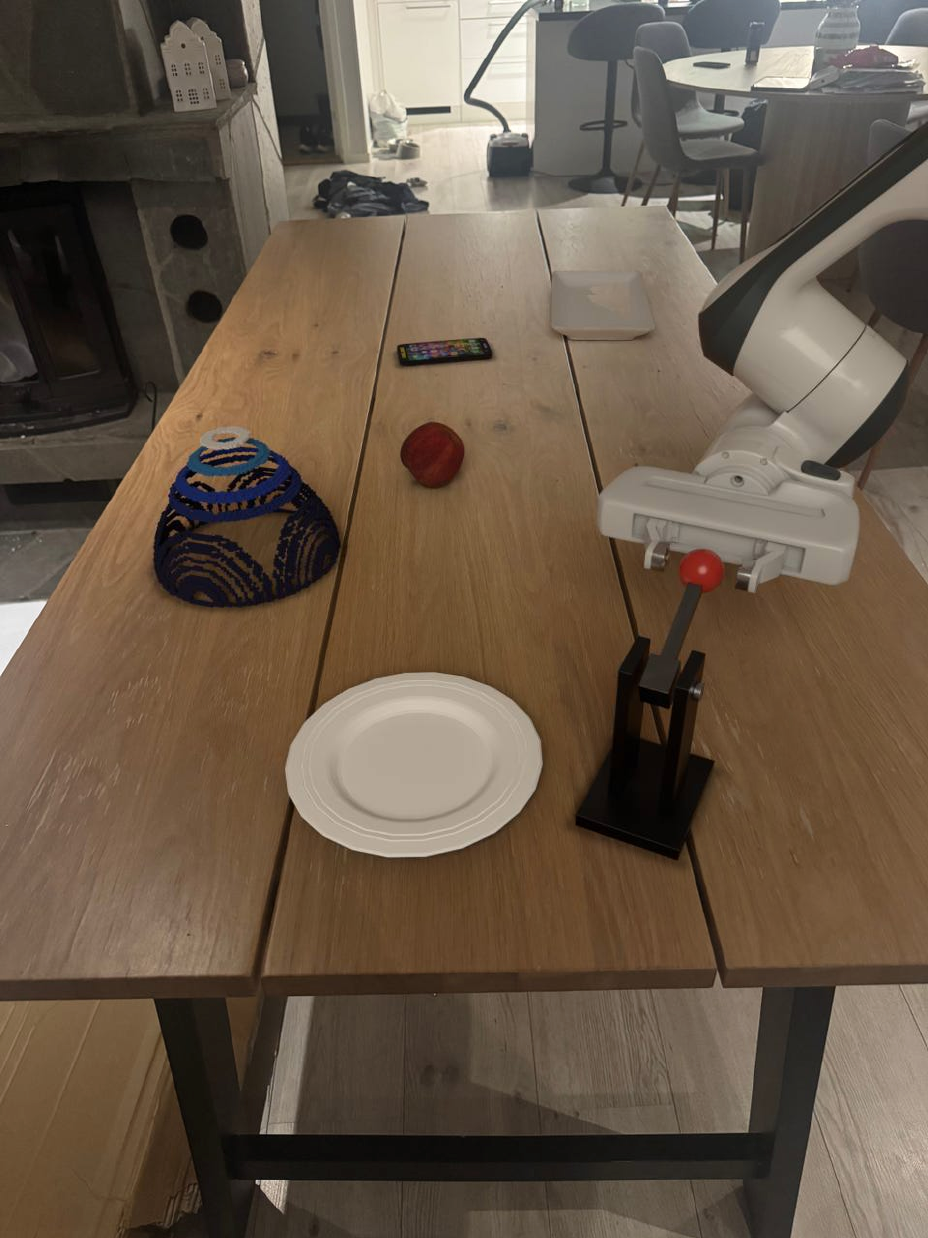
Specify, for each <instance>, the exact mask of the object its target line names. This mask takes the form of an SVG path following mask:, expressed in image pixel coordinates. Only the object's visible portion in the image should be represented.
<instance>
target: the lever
mask: <svg viewBox="0 0 928 1238" xmlns="http://www.w3.org/2000/svg"><path fill="white" fill-rule="evenodd" d="M725 568H726V567H725V564H724V562H723V561H722V559H721V558H720V557H719V555H717V554H716V553H715V552H713V551H711V550H709V549H703V548H700V549H695V550H692V551H690V552H688V553H687V554H685V555H684V556H683V557H682V559H681V560H680V562H679V565H678V571H677V572H678V578H679V581H680V583H681V584H682V586H683V587H684V588H685V589H684V591H683V595H682V597H681V600H680V602H679V605H678V608H677V610H676V613H675V616H674V618H673V621H672V624H671V626H670V629H669V631H668V633H667V636H666V639H665V642H664V645H663V648H662V650H661V652H660V654H658V653H654V652H649V658H648V661H647V664H646V666H645V669H644V671H643V674H642V677H641V679H640V682H639V684H638V687H639V698H640V701H641V702H644V704H648V705H652V706H655V707H659V708H662V709H666V710H670V709H671V708H672V702H673V694H674V687H675V684H676V682H677V680H678V678H679V676H680V674H681V672H682V661H681V660H679V657H680V654H681V651H682V650H683V649H682V648H683V646H684V643H685V641H686V638H687V635H688V632H689V630H690V627H691V624H692V623H693V620H694V616H695V613H696V611H697V608H698V605H699V603H700V600H701V598H702V595H703V594H707V593H710V592H713V591H714V590H716V589H717V588H718V587H719V586H720V585H721V584H722V582H723V580H724V577H725V571H726V570H725Z"/></svg>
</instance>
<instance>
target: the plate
mask: <svg viewBox="0 0 928 1238" xmlns="http://www.w3.org/2000/svg"><path fill="white" fill-rule="evenodd" d="M542 750H543V749H542V741H541V738H540V736H539V734H538V732H537V730H536V727H535V725H534V723H533V721H532V718H530V717H529V715H528V714H527V713H526V712H525V711H524V710H523V709H522V708H521V707H520V705H518V704H517V703H516V701H515V700H513V699H511V698H510V697H509V696H507V695H505V694H504V693H502V692H500V691H499V690H497V689H496V688H495V687H493V686H491V685H488V684H485V683H483V682H480V681H478V680H475V679H471V678H468V677H466V676H463V675H462V676H460V675H454V674H448V673H441V672H433V671H432V672H403V673H398V674H391V675H388V676H382V677H377V678H373V679H371V680H369V681H366V682H363V683H361V684H358V685H355V686H352V687H350V688H348V689H346V690H344V691H342V692H341V693H339V694H338V695H336V696H334V697H332V698H331V699H329V700H328V701H326V702H325V703H323V704H322V705H321V706H319V707H318V709H317V710H315V712H313V714H311V715H310V716H309V717H308V718H307V719H306V720H305V721H304V722H303V723H302V725H301V727H300V728H299V730H298V732H297V734H296V735H295V737H294V739H293V740H292V742H291V743H290V745H289V750H288V754H287V758H286V763H285V766H284V772H285V779H286V786H287V787H286V788H287V793H288V796H289V798H290V800H291V802H292V803H293V805H294V807H295V808H296V810H297V812H298V814H299V816H300V818H301V819H302V820H303V821H304V822H306V824H308V825H309V826H310V827H311V828H312V829H314V830H315V831H316V833H318V835H321V837H322V838H324V839H326V840H328V841H331V842H332V843H334V844H337V845H338V846H340V847H342V848H345V849H347V850H348V851H351V852H353V853H358V854H362V855H363V854H364V855H369V856H372V857H373V856H374V857H378V858H384V859H388V860H389V859H390V860H391V859H395V860H396V859H427V858H432V857H437V856H440V855H445V854H451V853H454V852H459V851H462V850H465V849H466V848H469V847H471V846H474V845H475V844H478V843H480V842H481V841H484V840H485V839H488V838H490V837H493V836H494V835H495V834H497V833H498V832H499V831H500V830H501V829H503V828H504V827H505V826H507V825H508V824H509V823H510V822H511V821H513V820H514V819H515V818H516V817H518V816H519V815H520V814H521V812H522V811H523V809H524V808H525V806H526V805H527V804H528V803H529V801H530V800H531V798H532V797H533V795H534V794H535V792H536V791H537V786H538V784H539V780H540V777H541V773H542V769H543V766H544V765H543V752H542Z"/></svg>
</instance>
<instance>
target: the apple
mask: <svg viewBox="0 0 928 1238" xmlns="http://www.w3.org/2000/svg"><path fill="white" fill-rule="evenodd" d="M465 452H466V450H465V444H464V441H463V439H462V438H461V437H460V435H458V433H456V432H455V430H454V429H453V428H451V427H450V426H448V425H447V424H444V423H442V422H437V421H431V422H426V423H423V424H421V425H418V427H416V428H414V429H413V430H412V431H411V432H410V433H409V434H408V436H407V437H406V438H405V439H404V440H403V442H402V445H401V448H400V452H399V457H400V461H401V463H402V465H403V466H404V467H405V469H407V470H408V472H409V473H410V474H411V476H412V477H413V478H414V479H415V480H416V481H417V482H418V483H419V484H421V485H423V486H425V487H428V488H440V487H443V486H445V485H447V484H449V483H450V482H451V481H452V480H453V479H454V478H455V477H456V475H457V474H458V473H459V470H460V469H461V466H462V464H463V461H464V458H465Z"/></svg>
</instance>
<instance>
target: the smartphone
mask: <svg viewBox="0 0 928 1238" xmlns="http://www.w3.org/2000/svg"><path fill="white" fill-rule="evenodd" d="M396 351H397V352H396V355H397V358H398V362H399V365H400V366H416V365H418V366H419V365H429V364H443V363H454V362H455V363H456V362H464V361H465V362H467V361H477V360H488V359H491V358H493V350H492V347H491V346H490V343H489V341H488V339H487V338H485V337H472V338H459V339H446V340H445V339H444V340H434V341H433V340H432V341H423V342H421V341H420V342H409V343H402V344H398V345H397V346H396Z"/></svg>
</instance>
